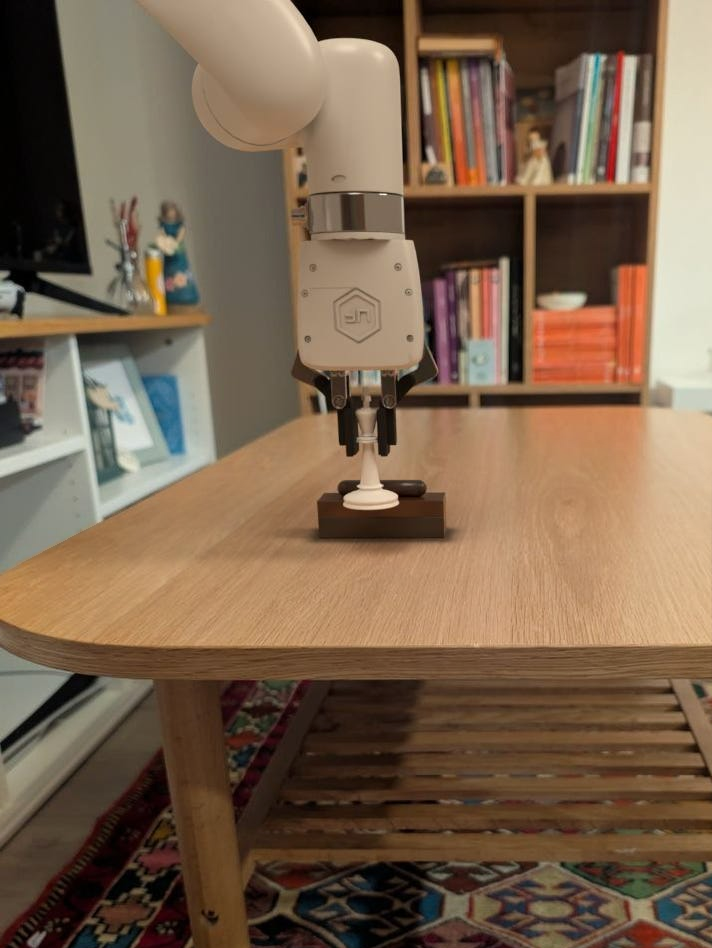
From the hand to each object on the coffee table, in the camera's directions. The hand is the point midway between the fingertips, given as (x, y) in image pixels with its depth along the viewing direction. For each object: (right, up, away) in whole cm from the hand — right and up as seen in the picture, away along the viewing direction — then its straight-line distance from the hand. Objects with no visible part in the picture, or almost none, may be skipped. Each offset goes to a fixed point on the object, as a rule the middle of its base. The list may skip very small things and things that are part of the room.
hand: (368, 452), depth 82 cm
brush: (0, -6, +11) cm, 12 cm away
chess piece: (0, -4, +2) cm, 5 cm away
